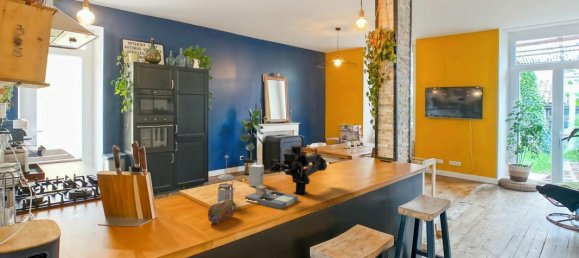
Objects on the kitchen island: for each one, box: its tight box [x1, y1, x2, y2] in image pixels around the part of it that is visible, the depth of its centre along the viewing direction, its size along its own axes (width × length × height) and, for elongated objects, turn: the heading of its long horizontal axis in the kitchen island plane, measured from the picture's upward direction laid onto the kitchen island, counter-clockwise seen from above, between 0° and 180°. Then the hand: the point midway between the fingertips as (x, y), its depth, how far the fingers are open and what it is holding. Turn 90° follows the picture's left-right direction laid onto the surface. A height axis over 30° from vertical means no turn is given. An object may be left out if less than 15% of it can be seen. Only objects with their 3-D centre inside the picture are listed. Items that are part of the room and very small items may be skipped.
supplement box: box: [248, 164, 265, 188], centre depth 204 cm, size 7×7×13 cm
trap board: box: [244, 188, 299, 210], centre depth 175 cm, size 18×22×2 cm
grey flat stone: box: [207, 200, 236, 225], centre depth 144 cm, size 15×3×8 cm, turn 148°
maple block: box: [255, 185, 267, 195], centre depth 178 cm, size 4×4×4 cm
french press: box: [217, 154, 236, 202], centre depth 166 cm, size 10×12×25 cm
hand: (277, 171), depth 169 cm, fingers open, 9 cm apart
